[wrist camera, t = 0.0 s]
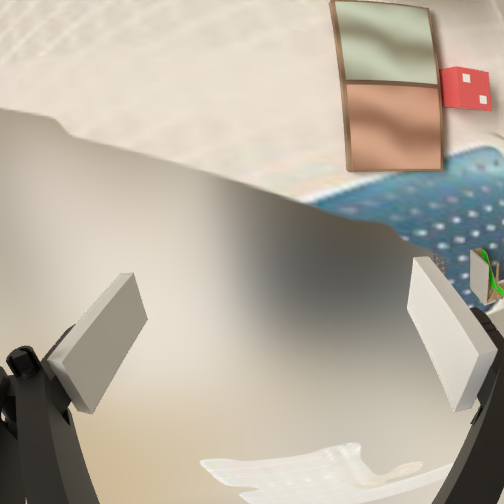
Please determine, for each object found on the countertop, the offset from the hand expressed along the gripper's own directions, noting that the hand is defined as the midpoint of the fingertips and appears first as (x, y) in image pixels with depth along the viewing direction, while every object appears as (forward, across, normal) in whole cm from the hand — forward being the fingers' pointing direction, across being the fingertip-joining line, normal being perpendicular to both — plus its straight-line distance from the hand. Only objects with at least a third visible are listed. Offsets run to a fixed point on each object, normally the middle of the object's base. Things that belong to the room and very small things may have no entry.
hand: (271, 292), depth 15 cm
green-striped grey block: (+29, +30, -15) cm, 44 cm away
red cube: (+28, +24, +11) cm, 39 cm away
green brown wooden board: (+28, +15, +11) cm, 34 cm away
